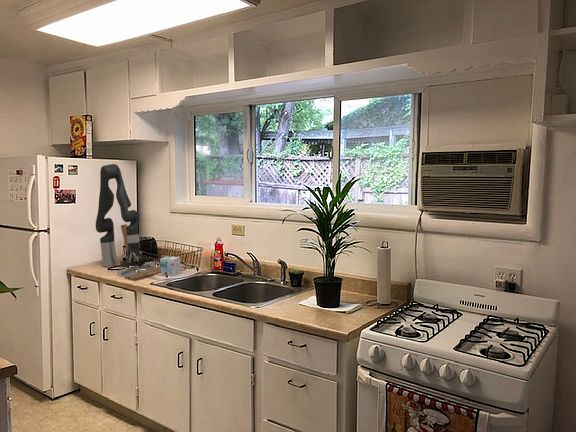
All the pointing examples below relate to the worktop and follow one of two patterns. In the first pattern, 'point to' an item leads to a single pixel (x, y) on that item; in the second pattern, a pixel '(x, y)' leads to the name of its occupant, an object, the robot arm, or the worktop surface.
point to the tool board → (140, 276)
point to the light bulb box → (170, 266)
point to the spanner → (133, 269)
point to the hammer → (125, 263)
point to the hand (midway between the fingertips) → (136, 265)
